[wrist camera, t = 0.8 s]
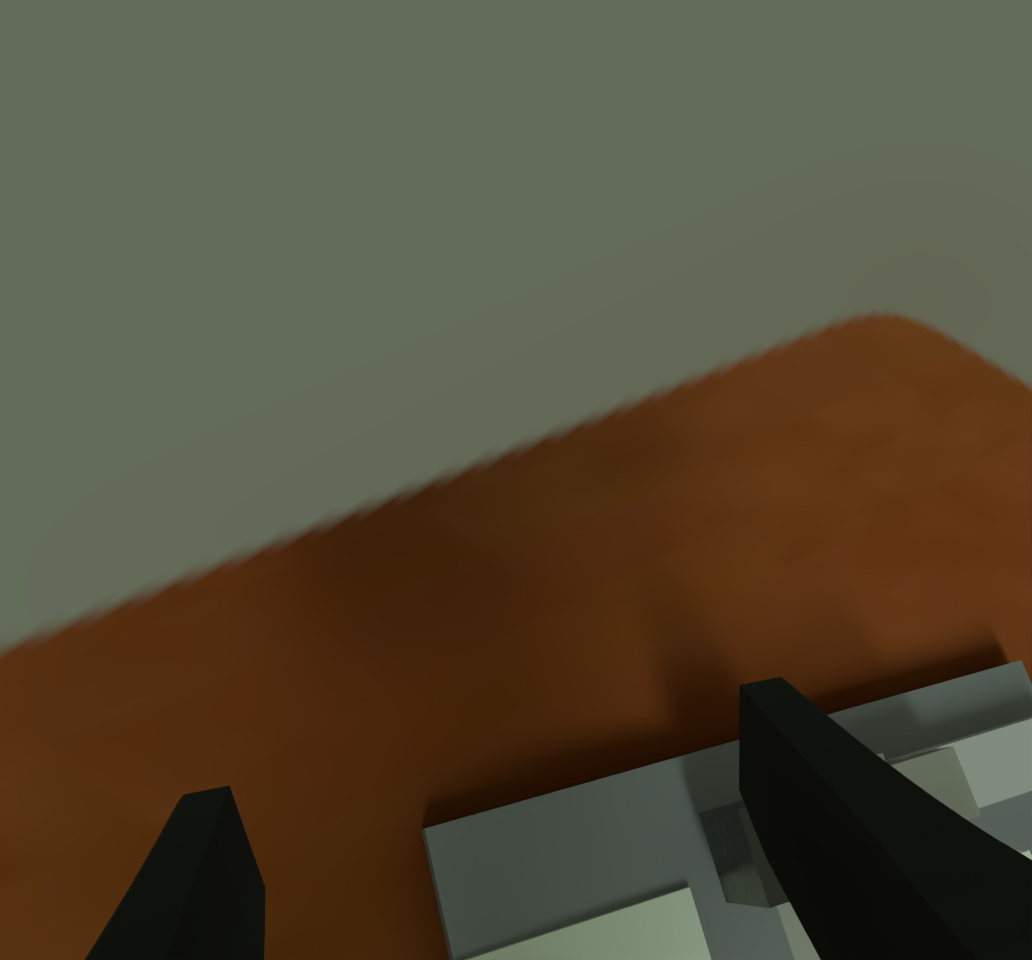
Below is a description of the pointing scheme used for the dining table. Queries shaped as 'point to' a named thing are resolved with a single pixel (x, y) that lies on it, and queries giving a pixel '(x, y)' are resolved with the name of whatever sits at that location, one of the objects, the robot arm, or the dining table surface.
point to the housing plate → (693, 839)
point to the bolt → (743, 855)
